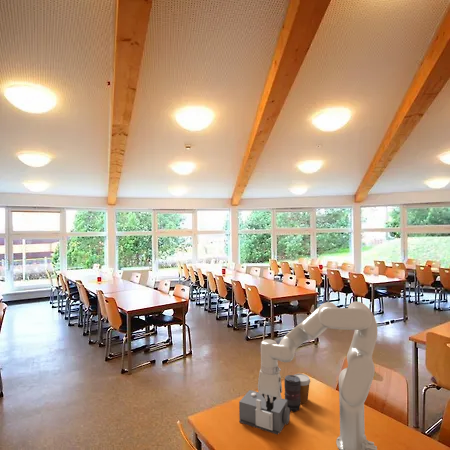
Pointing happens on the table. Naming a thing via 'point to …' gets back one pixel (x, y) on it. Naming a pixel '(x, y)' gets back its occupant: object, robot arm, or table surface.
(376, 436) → the table surface
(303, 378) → the disposable coffee cup
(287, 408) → the housing
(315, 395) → the table surface
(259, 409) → the hatch
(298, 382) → the camera lens
